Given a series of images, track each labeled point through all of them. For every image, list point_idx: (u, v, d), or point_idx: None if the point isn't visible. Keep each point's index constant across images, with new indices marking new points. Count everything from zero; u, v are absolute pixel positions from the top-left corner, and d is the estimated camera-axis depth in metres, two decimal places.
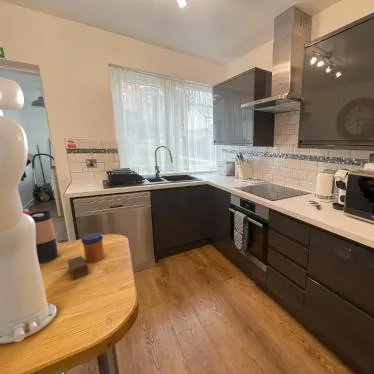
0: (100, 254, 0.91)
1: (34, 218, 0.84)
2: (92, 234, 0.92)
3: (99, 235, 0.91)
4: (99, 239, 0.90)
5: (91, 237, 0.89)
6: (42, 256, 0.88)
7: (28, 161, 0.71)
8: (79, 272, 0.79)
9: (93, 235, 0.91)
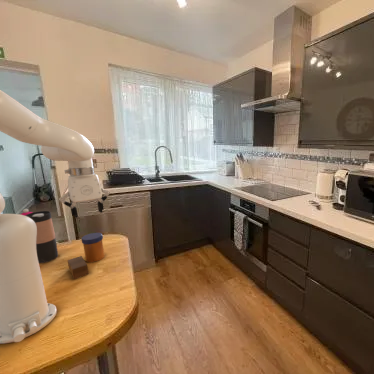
0: (100, 254, 0.91)
1: (34, 218, 0.84)
2: (92, 234, 0.92)
3: (99, 235, 0.91)
4: (99, 239, 0.90)
5: (91, 237, 0.89)
6: (42, 256, 0.88)
7: (105, 197, 0.91)
8: (79, 272, 0.79)
9: (93, 235, 0.91)
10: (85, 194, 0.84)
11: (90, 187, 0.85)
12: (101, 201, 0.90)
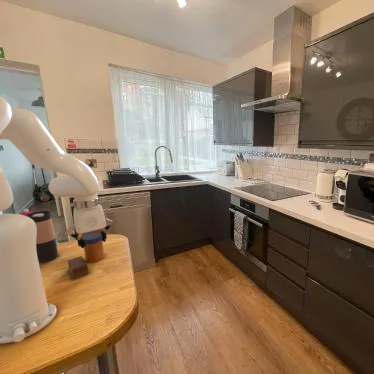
0: (100, 254, 0.91)
1: (34, 218, 0.84)
2: (92, 234, 0.92)
3: (99, 235, 0.91)
4: (99, 239, 0.90)
5: (91, 237, 0.89)
6: (42, 256, 0.88)
7: (108, 226, 0.94)
8: (79, 272, 0.79)
9: (93, 235, 0.91)
10: (90, 225, 0.87)
11: (95, 218, 0.88)
12: (104, 231, 0.93)
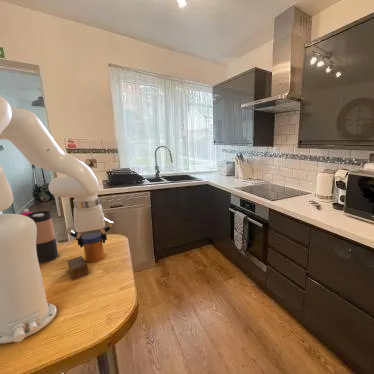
0: (100, 254, 0.91)
1: (34, 218, 0.84)
2: (90, 237, 0.89)
3: (85, 235, 0.90)
4: None
5: (93, 234, 0.92)
6: (42, 256, 0.88)
7: None
8: (79, 272, 0.79)
9: (90, 236, 0.90)
10: None
11: None
12: None
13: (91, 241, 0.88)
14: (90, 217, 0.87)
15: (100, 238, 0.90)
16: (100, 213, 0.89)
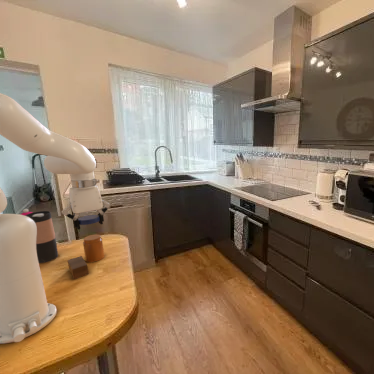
0: (100, 254, 0.91)
1: (34, 218, 0.84)
2: (88, 218, 0.87)
3: (81, 218, 0.88)
4: None
5: (89, 216, 0.90)
6: (42, 256, 0.88)
7: None
8: (79, 272, 0.79)
9: (87, 218, 0.87)
10: None
11: None
12: None
13: (91, 222, 0.86)
14: (89, 197, 0.86)
15: (98, 219, 0.89)
16: (98, 193, 0.88)
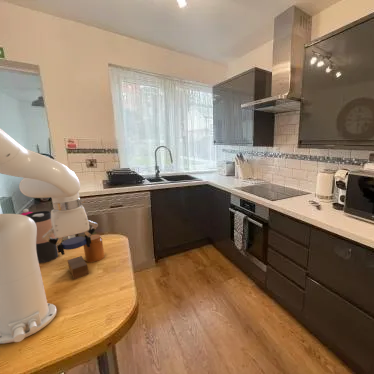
0: (100, 254, 0.91)
1: (34, 218, 0.84)
2: (73, 242, 0.79)
3: (65, 241, 0.80)
4: None
5: (74, 239, 0.82)
6: (42, 256, 0.88)
7: None
8: (79, 272, 0.79)
9: (72, 241, 0.80)
10: None
11: None
12: None
13: (76, 246, 0.78)
14: (74, 219, 0.78)
15: (85, 242, 0.82)
16: (84, 214, 0.80)
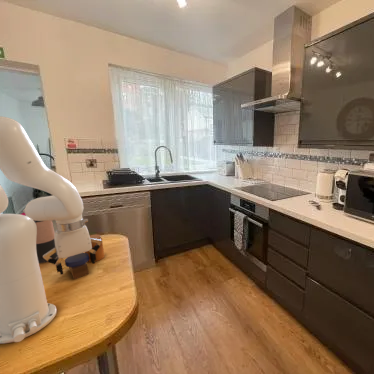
0: (100, 254, 0.91)
1: None
2: (76, 259, 0.80)
3: (68, 258, 0.81)
4: None
5: (77, 255, 0.83)
6: (42, 256, 0.88)
7: None
8: (79, 272, 0.79)
9: (75, 258, 0.81)
10: None
11: None
12: None
13: (79, 263, 0.80)
14: (77, 239, 0.79)
15: (87, 259, 0.83)
16: (86, 234, 0.81)
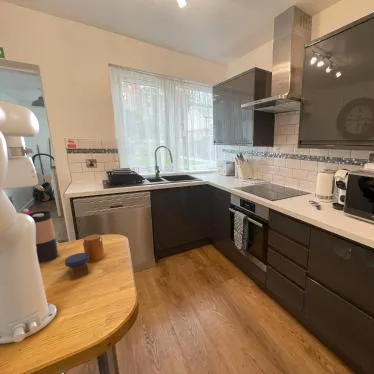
0: (100, 254, 0.91)
1: (34, 218, 0.84)
2: (76, 259, 0.80)
3: (68, 258, 0.81)
4: None
5: (77, 255, 0.83)
6: (42, 256, 0.88)
7: None
8: (79, 272, 0.79)
9: (75, 258, 0.81)
10: None
11: None
12: None
13: (79, 263, 0.80)
14: (17, 169, 0.69)
15: (87, 259, 0.83)
16: (30, 166, 0.71)
